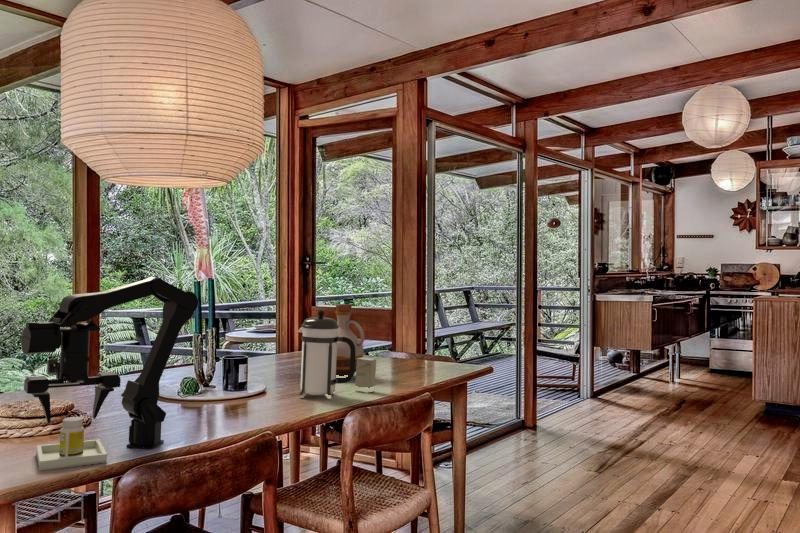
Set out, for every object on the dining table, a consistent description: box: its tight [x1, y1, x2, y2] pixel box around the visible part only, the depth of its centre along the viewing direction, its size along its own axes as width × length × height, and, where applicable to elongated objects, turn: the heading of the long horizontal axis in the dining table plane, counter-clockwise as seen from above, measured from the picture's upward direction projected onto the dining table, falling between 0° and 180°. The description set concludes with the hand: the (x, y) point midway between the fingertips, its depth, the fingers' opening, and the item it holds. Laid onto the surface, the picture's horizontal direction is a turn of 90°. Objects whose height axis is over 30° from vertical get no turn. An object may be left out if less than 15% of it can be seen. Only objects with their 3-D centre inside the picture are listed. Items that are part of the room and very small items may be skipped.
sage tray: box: [35, 438, 108, 472], centre depth 143 cm, size 13×13×2 cm
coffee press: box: [297, 309, 356, 396], centre depth 222 cm, size 17×16×30 cm
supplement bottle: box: [59, 416, 85, 458], centre depth 143 cm, size 5×5×8 cm
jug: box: [335, 304, 365, 376], centre depth 260 cm, size 20×18×30 cm
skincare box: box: [354, 356, 377, 388], centre depth 233 cm, size 6×4×12 cm
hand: (71, 420), depth 143 cm, fingers open, 9 cm apart
